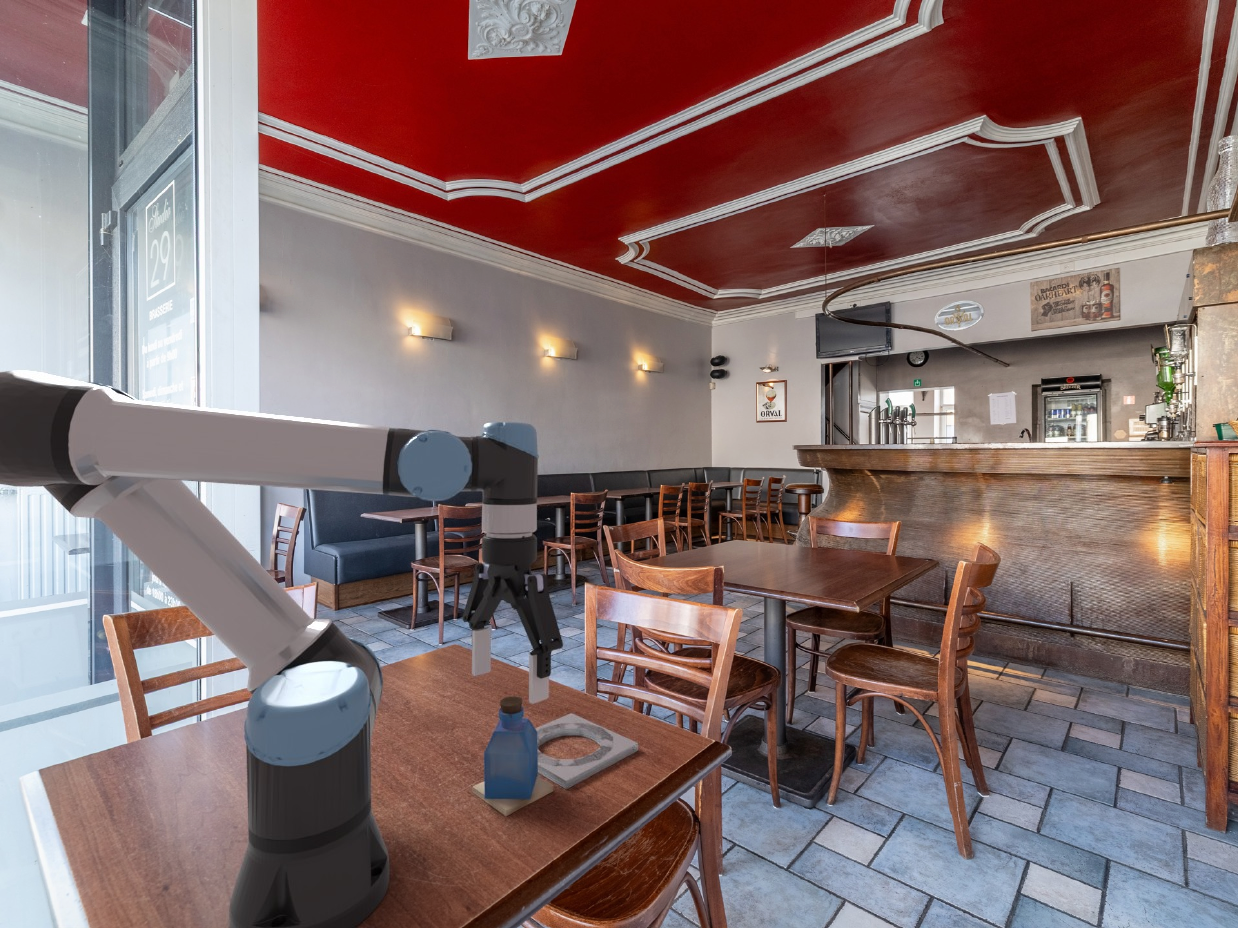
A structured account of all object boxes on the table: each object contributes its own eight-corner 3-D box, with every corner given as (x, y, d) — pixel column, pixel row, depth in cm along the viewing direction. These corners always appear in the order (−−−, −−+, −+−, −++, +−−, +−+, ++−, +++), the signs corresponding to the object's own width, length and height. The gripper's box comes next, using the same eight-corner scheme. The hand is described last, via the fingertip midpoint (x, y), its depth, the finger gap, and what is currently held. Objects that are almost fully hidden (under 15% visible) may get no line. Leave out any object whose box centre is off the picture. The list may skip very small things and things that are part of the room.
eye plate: (566, 789, 84) (566, 780, 84) (500, 750, 95) (500, 742, 95) (638, 750, 94) (638, 742, 94) (571, 719, 105) (571, 712, 105)
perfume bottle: (537, 774, 86) (536, 692, 86) (530, 798, 80) (529, 710, 80) (495, 773, 86) (494, 691, 86) (484, 798, 80) (483, 710, 80)
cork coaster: (505, 816, 77) (505, 810, 77) (472, 792, 83) (472, 786, 83) (553, 790, 83) (553, 785, 83) (519, 769, 89) (519, 764, 89)
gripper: (590, 540, 76) (589, 704, 77) (483, 524, 94) (481, 657, 94) (545, 546, 71) (543, 722, 71) (439, 527, 89) (438, 669, 89)
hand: (508, 686), depth 83 cm, fingers open, 13 cm apart
